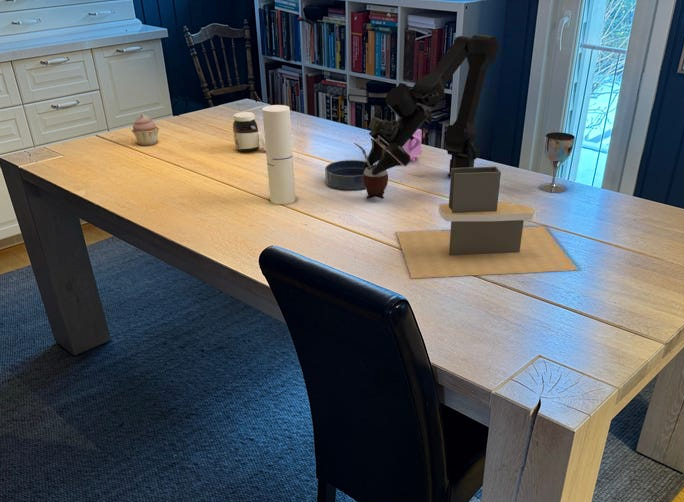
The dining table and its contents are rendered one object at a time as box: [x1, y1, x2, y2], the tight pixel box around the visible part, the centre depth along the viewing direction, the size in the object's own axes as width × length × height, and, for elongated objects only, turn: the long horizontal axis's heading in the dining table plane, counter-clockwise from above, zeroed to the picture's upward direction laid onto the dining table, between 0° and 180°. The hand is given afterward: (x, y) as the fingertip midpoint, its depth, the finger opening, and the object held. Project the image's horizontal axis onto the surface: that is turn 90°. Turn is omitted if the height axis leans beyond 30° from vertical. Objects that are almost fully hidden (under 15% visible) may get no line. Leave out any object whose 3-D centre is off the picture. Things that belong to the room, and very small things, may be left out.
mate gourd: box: [353, 142, 389, 200], centre depth 186 cm, size 8×8×15 cm
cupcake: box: [131, 113, 160, 146], centre depth 234 cm, size 9×9×10 cm
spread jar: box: [232, 111, 266, 154], centre depth 227 cm, size 12×11×12 cm
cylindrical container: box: [261, 104, 297, 205], centre depth 184 cm, size 7×7×25 cm
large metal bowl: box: [324, 159, 366, 191], centre depth 202 cm, size 15×15×4 cm
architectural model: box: [396, 166, 579, 279], centre depth 157 cm, size 38×25×20 cm, turn 96°
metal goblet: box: [539, 131, 576, 193], centre depth 193 cm, size 8×8×15 cm
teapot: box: [385, 128, 423, 166], centre depth 217 cm, size 15×13×11 cm
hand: (368, 170), depth 186 cm, fingers closed on mate gourd, 6 cm apart
